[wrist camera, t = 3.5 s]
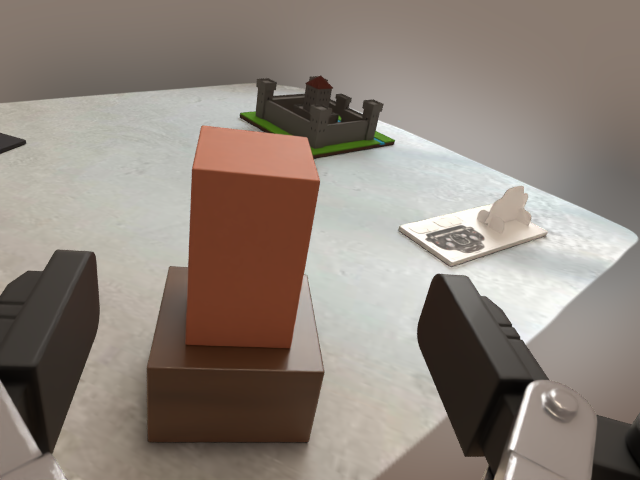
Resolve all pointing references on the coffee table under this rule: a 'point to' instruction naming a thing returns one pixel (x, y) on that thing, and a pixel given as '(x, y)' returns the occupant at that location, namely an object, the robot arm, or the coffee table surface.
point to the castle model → (318, 118)
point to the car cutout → (476, 229)
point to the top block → (248, 237)
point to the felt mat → (9, 142)
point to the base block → (230, 380)
